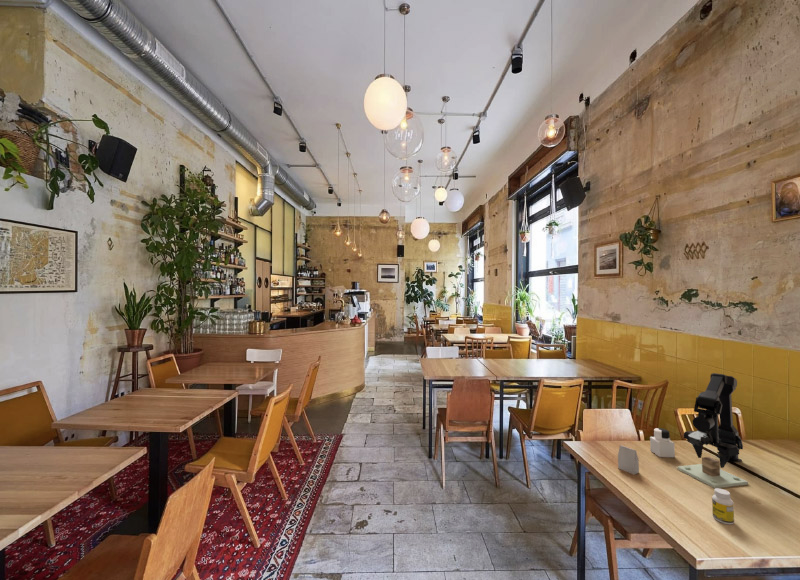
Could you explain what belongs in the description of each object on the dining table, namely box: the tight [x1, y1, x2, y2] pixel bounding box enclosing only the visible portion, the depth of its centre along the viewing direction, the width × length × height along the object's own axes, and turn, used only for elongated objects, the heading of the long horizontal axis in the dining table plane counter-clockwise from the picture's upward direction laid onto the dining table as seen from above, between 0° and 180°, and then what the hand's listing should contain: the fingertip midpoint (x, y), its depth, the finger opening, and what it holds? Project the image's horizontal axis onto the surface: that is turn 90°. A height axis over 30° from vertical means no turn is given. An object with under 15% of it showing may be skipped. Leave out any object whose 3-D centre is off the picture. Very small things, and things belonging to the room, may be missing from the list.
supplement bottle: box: [711, 488, 735, 525], centre depth 119 cm, size 5×5×10 cm
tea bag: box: [617, 444, 640, 476], centre depth 154 cm, size 4×7×10 cm, turn 29°
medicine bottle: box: [649, 427, 676, 458], centre depth 170 cm, size 7×7×12 cm
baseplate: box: [676, 463, 749, 489], centre depth 148 cm, size 16×16×2 cm
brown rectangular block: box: [701, 456, 721, 476], centre depth 148 cm, size 4×4×6 cm
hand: (710, 462), depth 148 cm, fingers open, 9 cm apart
